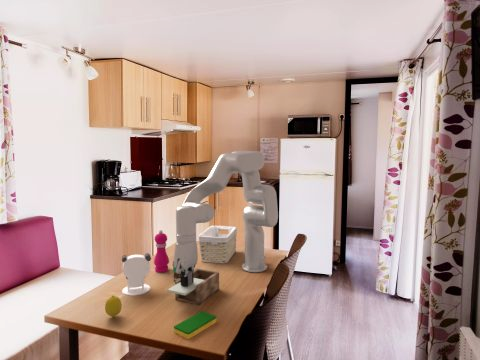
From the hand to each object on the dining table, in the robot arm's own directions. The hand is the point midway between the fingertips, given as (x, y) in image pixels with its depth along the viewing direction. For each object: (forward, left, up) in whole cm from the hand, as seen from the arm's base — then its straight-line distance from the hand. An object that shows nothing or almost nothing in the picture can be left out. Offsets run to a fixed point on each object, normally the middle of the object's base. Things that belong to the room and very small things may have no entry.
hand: (187, 283), depth 136 cm
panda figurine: (-1, -26, -8) cm, 27 cm away
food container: (-20, -15, -8) cm, 26 cm away
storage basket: (-54, -16, -8) cm, 57 cm away
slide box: (-8, 0, -7) cm, 11 cm away
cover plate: (0, 0, -1) cm, 1 cm away
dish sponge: (+14, +13, -8) cm, 21 cm away
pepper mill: (-24, -31, -8) cm, 40 cm away
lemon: (+21, -17, -8) cm, 28 cm away
